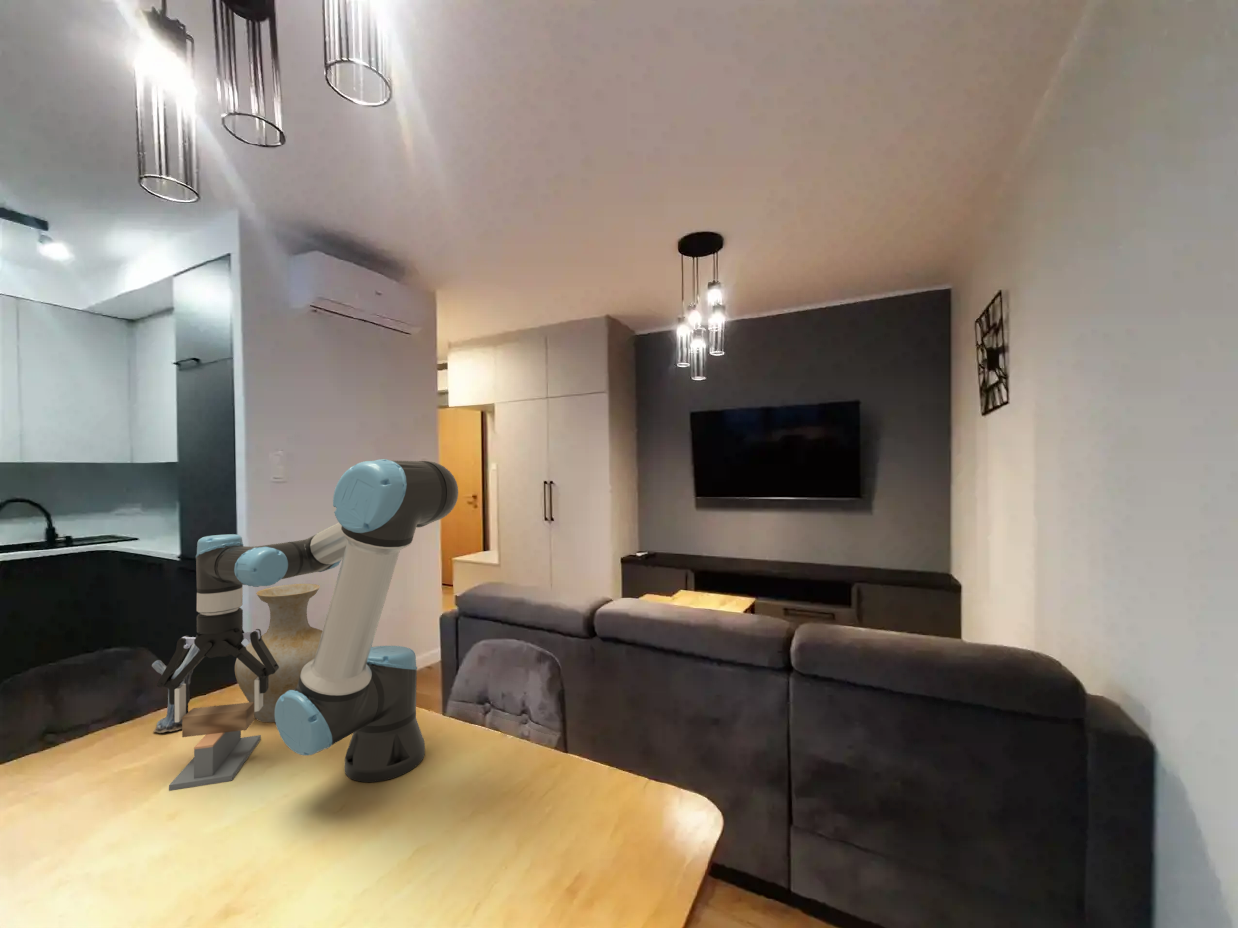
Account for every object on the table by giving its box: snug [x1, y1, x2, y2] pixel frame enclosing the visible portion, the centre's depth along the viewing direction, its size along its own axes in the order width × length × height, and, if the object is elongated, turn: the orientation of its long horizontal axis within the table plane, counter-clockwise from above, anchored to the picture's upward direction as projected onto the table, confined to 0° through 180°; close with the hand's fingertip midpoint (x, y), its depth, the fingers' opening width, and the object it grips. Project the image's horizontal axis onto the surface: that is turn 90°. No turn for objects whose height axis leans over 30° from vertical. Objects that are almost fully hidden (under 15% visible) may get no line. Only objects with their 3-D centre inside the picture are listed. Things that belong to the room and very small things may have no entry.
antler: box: [151, 644, 200, 734], centre depth 123 cm, size 12×8×25 cm
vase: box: [234, 583, 323, 723], centre depth 130 cm, size 22×22×30 cm
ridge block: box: [168, 730, 262, 791], centre depth 106 cm, size 10×16×7 cm, turn 18°
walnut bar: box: [181, 701, 255, 738], centre depth 106 cm, size 11×4×4 cm, turn 106°
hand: (220, 713), depth 106 cm, fingers open, 13 cm apart
